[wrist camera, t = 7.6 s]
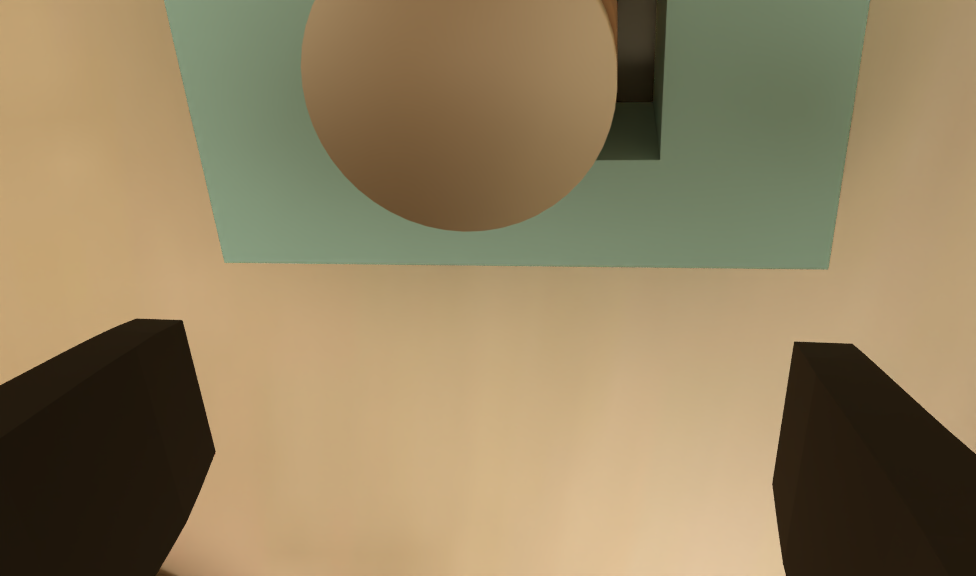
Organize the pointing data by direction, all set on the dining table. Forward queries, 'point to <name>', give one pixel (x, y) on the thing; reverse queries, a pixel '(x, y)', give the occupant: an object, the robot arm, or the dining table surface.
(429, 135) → the peg
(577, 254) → the socket block
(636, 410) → the dining table surface
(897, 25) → the dining table surface
